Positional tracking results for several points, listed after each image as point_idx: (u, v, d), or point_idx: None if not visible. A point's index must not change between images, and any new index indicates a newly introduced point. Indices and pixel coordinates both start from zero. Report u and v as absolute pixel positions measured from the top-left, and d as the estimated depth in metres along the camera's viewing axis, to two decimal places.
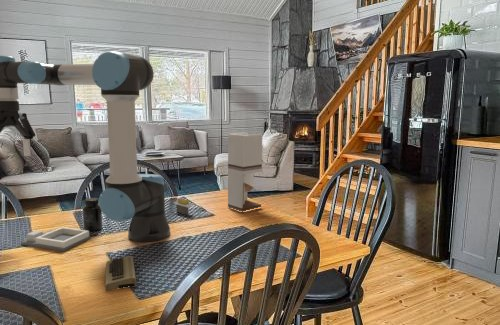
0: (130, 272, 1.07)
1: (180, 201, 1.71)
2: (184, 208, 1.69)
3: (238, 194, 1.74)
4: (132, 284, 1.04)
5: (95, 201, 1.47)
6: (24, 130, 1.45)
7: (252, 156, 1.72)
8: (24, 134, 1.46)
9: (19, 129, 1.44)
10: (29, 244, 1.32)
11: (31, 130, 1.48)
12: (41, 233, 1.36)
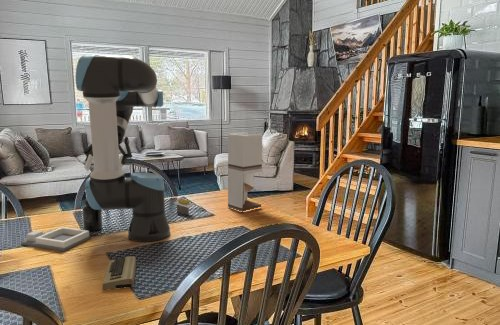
0: (129, 273, 1.07)
1: (180, 201, 1.71)
2: (184, 208, 1.69)
3: (238, 194, 1.74)
4: (129, 285, 1.04)
5: None
6: (120, 148, 1.60)
7: (252, 156, 1.72)
8: None
9: (119, 149, 1.62)
10: (29, 244, 1.32)
11: (127, 149, 1.60)
12: (41, 233, 1.36)
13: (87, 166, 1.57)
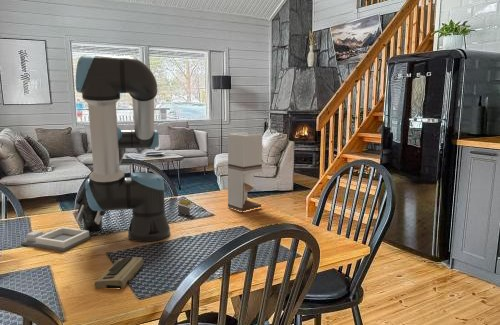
0: (123, 274, 1.06)
1: (182, 201, 1.70)
2: (186, 209, 1.69)
3: (238, 194, 1.74)
4: (119, 286, 1.03)
5: None
6: None
7: (252, 156, 1.72)
8: None
9: None
10: (29, 244, 1.32)
11: None
12: (41, 233, 1.36)
13: (79, 218, 1.46)
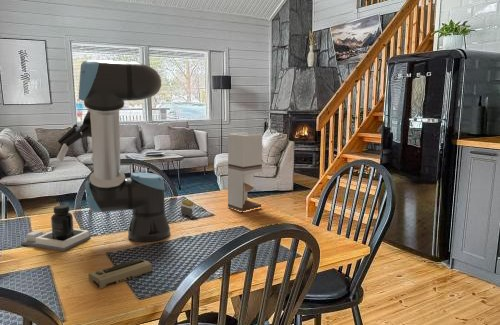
0: (110, 274, 1.06)
1: (184, 202, 1.69)
2: (188, 209, 1.67)
3: (238, 194, 1.74)
4: (98, 285, 1.04)
5: (65, 209, 1.33)
6: None
7: (252, 156, 1.72)
8: None
9: None
10: (29, 244, 1.32)
11: None
12: (41, 233, 1.36)
13: (60, 156, 1.42)
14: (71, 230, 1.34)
